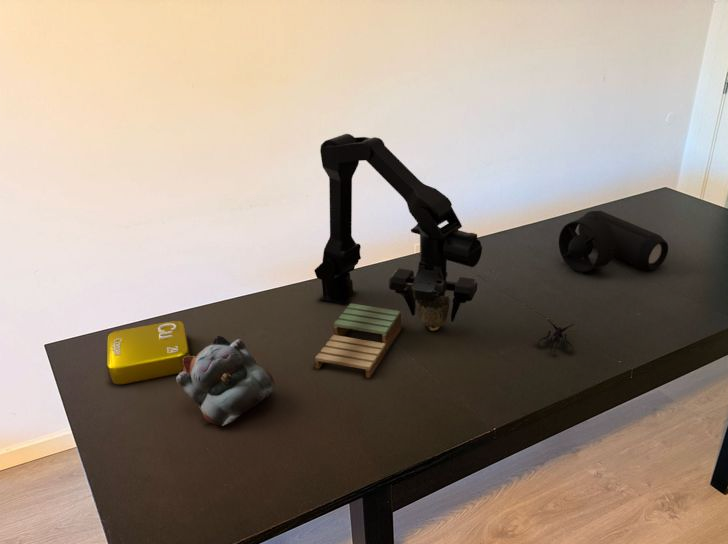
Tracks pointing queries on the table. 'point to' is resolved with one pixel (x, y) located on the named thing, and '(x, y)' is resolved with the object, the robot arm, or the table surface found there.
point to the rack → (356, 349)
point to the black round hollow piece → (587, 243)
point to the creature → (557, 337)
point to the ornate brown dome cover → (433, 312)
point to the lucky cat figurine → (224, 380)
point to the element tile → (146, 352)
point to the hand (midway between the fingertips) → (432, 317)
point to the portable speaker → (632, 242)
